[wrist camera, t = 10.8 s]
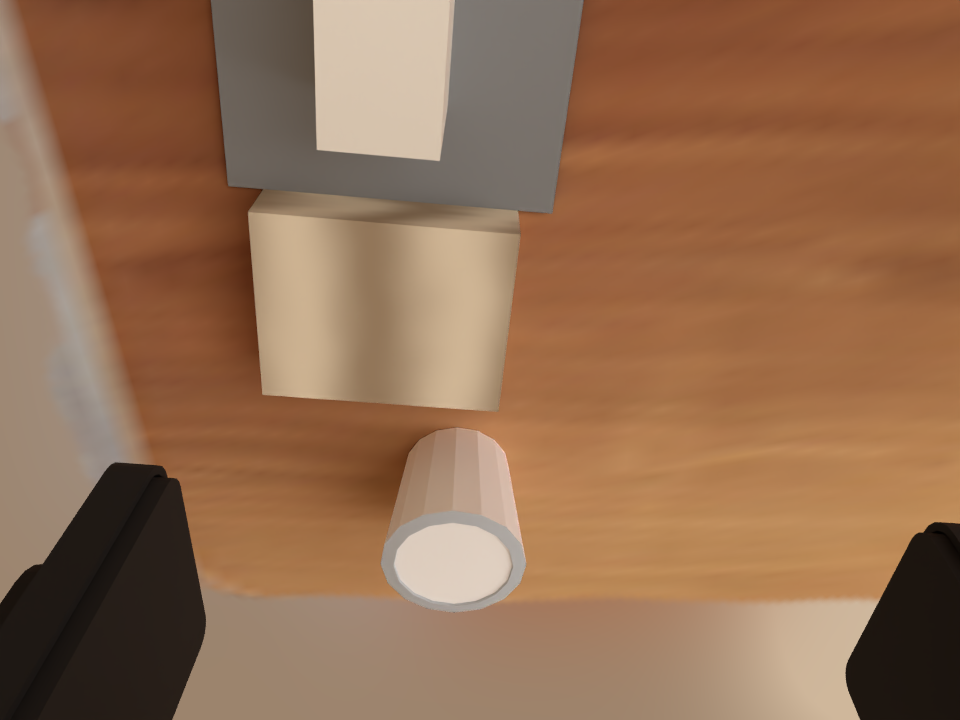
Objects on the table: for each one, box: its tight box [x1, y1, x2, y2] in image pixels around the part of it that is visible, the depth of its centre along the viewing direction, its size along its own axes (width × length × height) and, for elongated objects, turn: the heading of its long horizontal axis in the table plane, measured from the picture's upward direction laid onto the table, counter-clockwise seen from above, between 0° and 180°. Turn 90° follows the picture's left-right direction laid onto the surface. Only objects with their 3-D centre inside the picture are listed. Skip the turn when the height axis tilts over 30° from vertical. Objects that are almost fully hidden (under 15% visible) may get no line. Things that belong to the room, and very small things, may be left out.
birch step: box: [248, 189, 521, 412], centre depth 35 cm, size 11×9×3 cm
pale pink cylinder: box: [381, 427, 526, 612], centre depth 39 cm, size 7×7×7 cm
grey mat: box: [211, 0, 584, 213], centre depth 31 cm, size 14×10×1 cm
